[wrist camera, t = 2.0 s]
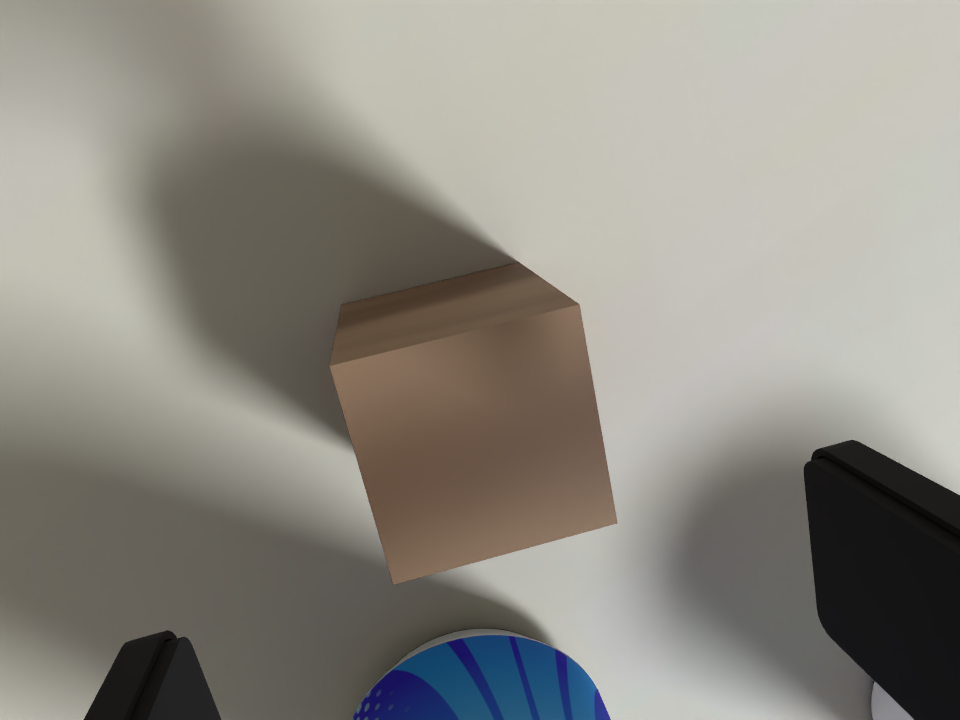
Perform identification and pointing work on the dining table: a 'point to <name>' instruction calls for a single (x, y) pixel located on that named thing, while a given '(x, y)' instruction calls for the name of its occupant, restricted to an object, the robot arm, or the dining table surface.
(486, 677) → the beer can
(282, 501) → the dining table surface
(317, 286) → the dining table surface
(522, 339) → the walnut block
